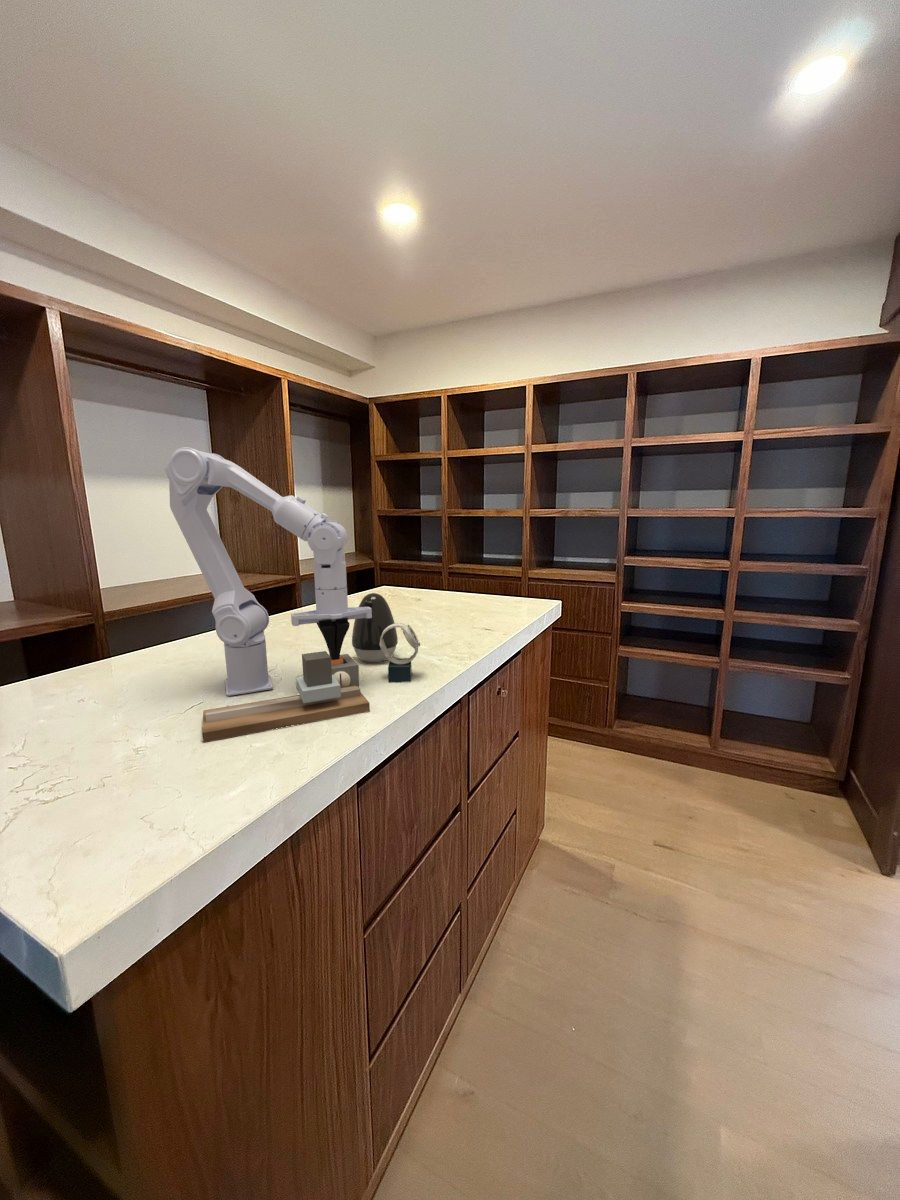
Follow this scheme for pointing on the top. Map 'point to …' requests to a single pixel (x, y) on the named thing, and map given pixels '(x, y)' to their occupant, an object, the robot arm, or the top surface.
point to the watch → (401, 666)
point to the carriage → (317, 678)
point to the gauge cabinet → (346, 672)
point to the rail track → (278, 714)
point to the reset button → (337, 661)
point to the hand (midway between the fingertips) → (334, 658)
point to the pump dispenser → (374, 630)
